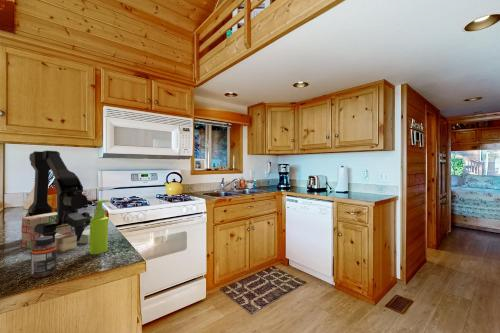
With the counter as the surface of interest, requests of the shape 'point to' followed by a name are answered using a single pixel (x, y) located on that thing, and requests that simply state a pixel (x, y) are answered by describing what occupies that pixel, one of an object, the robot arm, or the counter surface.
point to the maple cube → (66, 242)
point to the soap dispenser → (99, 230)
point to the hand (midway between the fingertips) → (65, 244)
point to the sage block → (85, 237)
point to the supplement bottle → (43, 257)
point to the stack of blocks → (32, 221)
